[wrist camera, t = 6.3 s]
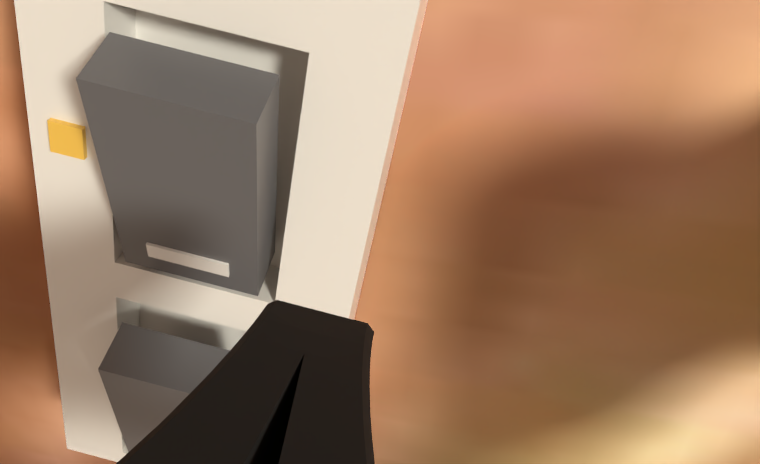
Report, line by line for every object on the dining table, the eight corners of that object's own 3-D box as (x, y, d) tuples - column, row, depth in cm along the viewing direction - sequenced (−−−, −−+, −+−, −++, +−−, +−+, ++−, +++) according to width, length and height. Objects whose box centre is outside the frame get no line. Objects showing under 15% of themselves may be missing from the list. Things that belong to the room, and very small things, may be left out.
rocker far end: (248, 355, 19) (229, 406, 18) (249, 443, 23) (234, 487, 22) (122, 322, 19) (96, 371, 18) (148, 416, 23) (129, 459, 23)
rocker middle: (279, 74, 14) (255, 126, 13) (275, 251, 19) (256, 298, 18) (109, 32, 14) (73, 81, 13) (148, 218, 19) (124, 263, 18)
